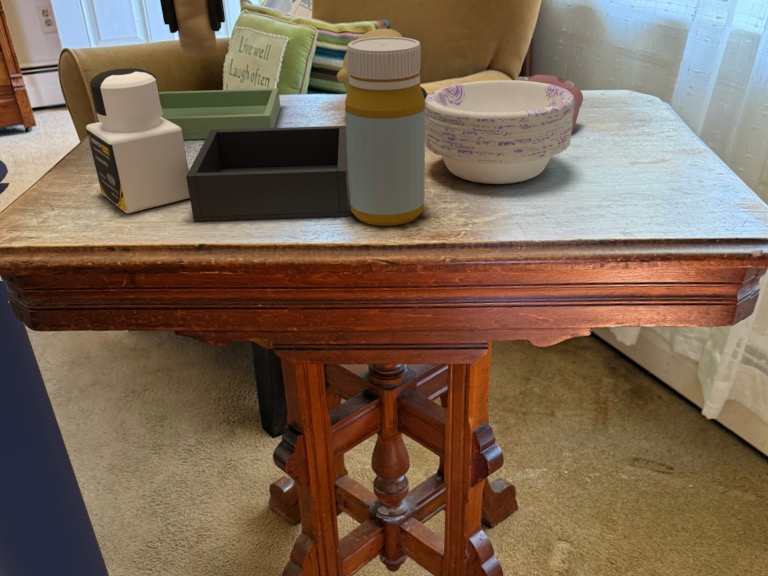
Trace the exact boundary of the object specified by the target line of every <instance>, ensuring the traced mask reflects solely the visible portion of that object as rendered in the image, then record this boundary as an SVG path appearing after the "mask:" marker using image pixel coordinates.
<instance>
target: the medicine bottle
mask: <svg viewBox="0 0 768 576" xmlns="http://www.w3.org/2000/svg"><path fill="white" fill-rule="evenodd" d="M157 79H158V78H157V77H156V75H154V73H152V72H150V71H148V70H145V69H142V68H134V67H133V68H132V67H130V68H116V69H109V70H106V71H103V72H100V73H98V74H96V75H95V76H94V77H93V78H91V80H90V82H89V87H90V91H91V95H92V101H93V104H94V109H95V112H96V117H97V120H98V121H97V122H93V123H89V124H87V125H86V126H85V131H86V134H87V139H88V142H89V147H90V151H91V155H92V159H93V163H94V167H95V171H96V175H97V179H98V183H99V187H100V192H101V194H102V195H103V196H104V197H106V199H108V200H109V201H111V202H112V204H114V205H115V206H117V207H118V208H119V209H120V210H122V211H123V212H124V213H125V214H132V213H135V212H141V211H143V210H147V209H151V208H154V207H155V208H156V207H160V206H164V205H168V204H172V203H176V202H180V201H184V200H187V199H190V196H189V190H188V185H187V179H186V175H187V174H188V172H189V170H190V168H189V163H188V158H187V154H186V146H185V140H183V135H182V130H181V128H180V127H179V126H177V125H175V124H173V123H172V122H170V121H168V120H166V119H164V118H162V117H160V116H162V114H163V112H162V106H161V101H160V95H159V92H160V90H159V85H158V80H157Z"/></svg>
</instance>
